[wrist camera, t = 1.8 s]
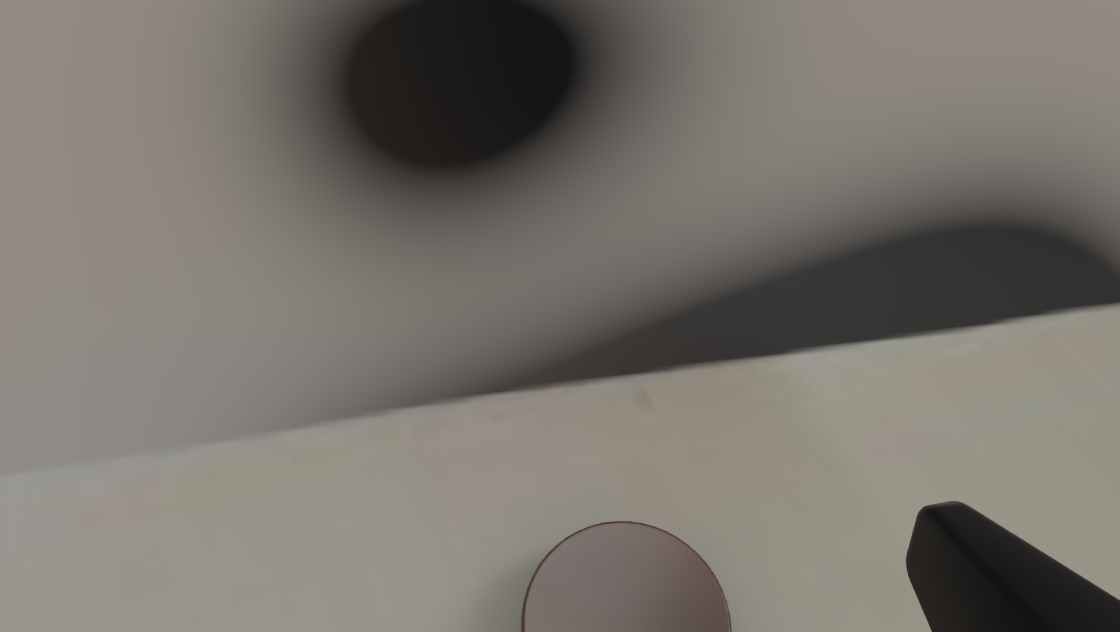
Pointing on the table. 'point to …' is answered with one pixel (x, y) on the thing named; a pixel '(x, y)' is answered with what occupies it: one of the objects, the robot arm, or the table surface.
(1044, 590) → the robot arm
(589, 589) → the wooden spoon
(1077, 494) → the table surface
